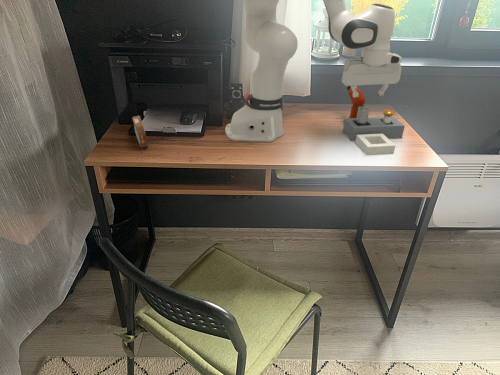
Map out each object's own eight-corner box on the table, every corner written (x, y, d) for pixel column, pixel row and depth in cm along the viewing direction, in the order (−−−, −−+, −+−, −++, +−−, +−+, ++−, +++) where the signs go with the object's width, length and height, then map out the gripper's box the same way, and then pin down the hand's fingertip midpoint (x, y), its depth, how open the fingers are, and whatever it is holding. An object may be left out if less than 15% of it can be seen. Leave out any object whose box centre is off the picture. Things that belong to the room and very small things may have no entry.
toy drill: (345, 108, 164) (352, 74, 155) (361, 130, 150) (370, 95, 140) (334, 108, 164) (341, 75, 154) (349, 131, 149) (357, 95, 140)
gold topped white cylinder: (381, 135, 143) (386, 113, 139) (376, 131, 147) (381, 109, 142) (391, 135, 144) (396, 112, 139) (386, 131, 147) (391, 109, 142)
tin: (149, 150, 130) (146, 127, 126) (140, 151, 129) (136, 128, 125) (142, 133, 142) (139, 111, 137) (133, 134, 141) (130, 112, 136)
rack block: (366, 154, 130) (367, 147, 129) (355, 142, 138) (356, 134, 137) (393, 153, 132) (395, 145, 130) (380, 141, 140) (382, 133, 138)
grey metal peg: (356, 137, 142) (361, 109, 136) (352, 133, 145) (356, 105, 140) (366, 136, 143) (371, 108, 137) (362, 132, 146) (367, 105, 140)
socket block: (351, 140, 140) (353, 128, 137) (342, 130, 147) (344, 118, 144) (401, 138, 142) (404, 125, 140) (390, 128, 150) (393, 116, 147)
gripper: (348, 60, 125) (343, 100, 132) (406, 57, 127) (398, 97, 135) (341, 55, 130) (336, 94, 137) (398, 53, 132) (390, 91, 140)
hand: (367, 96), depth 136 cm, fingers open, 8 cm apart
